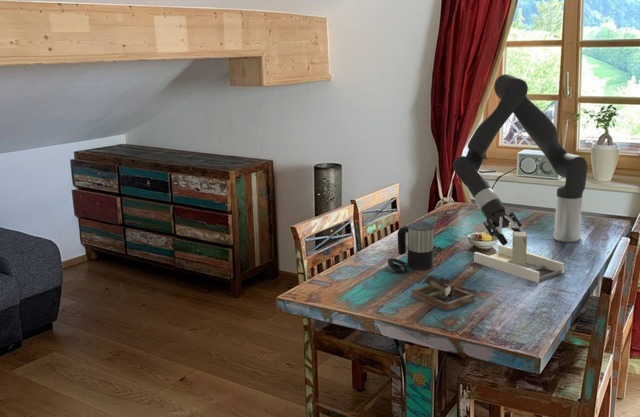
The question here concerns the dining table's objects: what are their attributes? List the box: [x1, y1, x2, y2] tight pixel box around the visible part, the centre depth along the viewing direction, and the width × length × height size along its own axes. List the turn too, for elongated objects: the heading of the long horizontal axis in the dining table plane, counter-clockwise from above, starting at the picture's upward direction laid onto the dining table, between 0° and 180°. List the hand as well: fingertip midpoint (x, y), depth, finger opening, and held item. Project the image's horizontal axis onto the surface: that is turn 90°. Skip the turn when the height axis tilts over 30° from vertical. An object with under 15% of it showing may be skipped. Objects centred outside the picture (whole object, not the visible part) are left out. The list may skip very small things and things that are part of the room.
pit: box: [532, 265, 562, 283], centre depth 227 cm, size 11×7×1 cm, turn 125°
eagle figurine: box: [425, 276, 456, 302], centre depth 209 cm, size 8×7×9 cm
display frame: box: [411, 282, 475, 312], centre depth 210 cm, size 12×15×2 cm
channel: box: [473, 244, 565, 283], centre depth 235 cm, size 14×27×4 cm, turn 35°
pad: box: [490, 252, 512, 263], centre depth 242 cm, size 11×8×1 cm
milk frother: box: [387, 221, 435, 273], centre depth 236 cm, size 14×16×15 cm
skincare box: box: [511, 231, 528, 268], centre depth 233 cm, size 6×4×12 cm
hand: (513, 241), depth 234 cm, fingers open, 8 cm apart
